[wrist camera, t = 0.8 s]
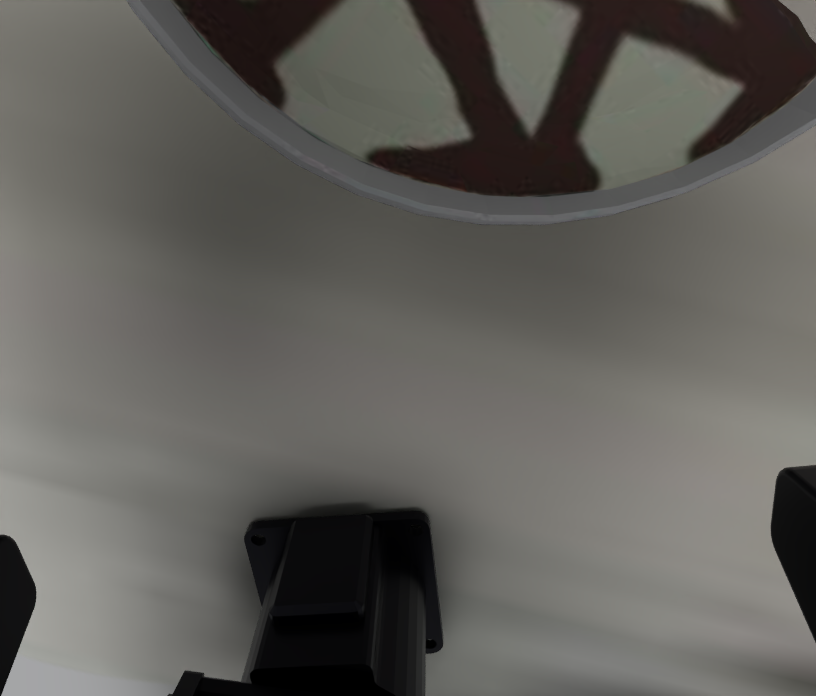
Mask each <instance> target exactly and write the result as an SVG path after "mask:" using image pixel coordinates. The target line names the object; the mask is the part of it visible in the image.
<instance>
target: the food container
mask: <svg viewBox="0 0 816 696" xmlns="http://www.w3.org/2000/svg"><path fill="white" fill-rule="evenodd" d="M127 2H128V4H129V5H130V7H131V8H132V10H133V11H134V13H135V14H136V15H137V16H138V17H139V19H140V20H141V21H142V22H143V24H144V25H145V26H146V27H147V28H148V30H149V31H150V32H151V33H152V35H153V36H154V37H155V38H156V39H157V41H158V42H159V43H160V44H161V46H162V47H163V48H164V49H165V50H166V52H167V53H168V54H169V55H170V57H171V58H172V59H173V60H174V61H175V63H176V64H177V65H178V66H179V67H180V69H181V70H182V71H183V72H184V74H186V75H187V76H188V77H189V78H190V79H191V80H192V81H193V82H194V83H195V84H196V85H197V86H198V87H199V88H201V89H202V90H203V91H204V92H205V93H206V94H207V95H208V96H209V97H210V98H211V99H212V100H213V101H214V102H216V103H217V104H218V105H219V106H220V107H221V108H222V109H223V110H224V111H225V112H226V113H227V114H228V115H229V116H231V117H232V118H233V119H234V120H235V121H236V122H237V123H238V124H239V125H240V126H242V127H243V128H245V129H246V130H248V131H249V132H251V133H252V134H253V135H255V136H256V137H258V138H259V139H261V140H262V141H263V142H265V143H266V144H268V145H269V146H271V147H272V148H273V149H275V150H276V151H278V152H279V153H281V154H282V155H283V156H285V157H286V158H288V159H289V160H291V161H292V162H293V163H295V164H296V165H298V166H300V167H302V168H304V169H306V170H308V171H310V172H312V173H314V174H316V175H318V176H320V177H322V178H324V179H326V180H328V181H330V182H332V183H334V184H336V185H338V186H340V187H342V188H344V189H346V190H348V191H350V192H352V193H354V194H356V195H359V196H362V197H365V198H368V199H371V200H375V201H378V202H381V203H384V204H387V205H390V206H393V207H396V208H399V209H402V210H405V211H408V212H412V213H415V214H418V215H424V216H430V217H437V218H443V219H449V220H455V221H461V222H467V223H474V224H480V225H548V224H555V223H562V222H569V221H576V220H583V219H590V218H597V217H605V216H610V215H613V214H617V213H620V212H624V211H627V210H630V209H634V208H637V207H641V206H644V205H648V204H651V203H655V202H658V201H662V200H665V199H669V198H672V197H675V196H677V195H680V194H683V193H687V192H689V191H691V190H694V189H696V188H698V187H700V186H702V185H705V184H707V183H709V182H711V181H714V180H716V179H718V178H720V177H723V176H725V175H727V174H729V173H732V172H734V171H736V170H738V169H741V168H743V167H745V166H747V165H750V164H752V163H754V162H756V161H758V160H759V159H761V158H762V157H764V156H766V155H767V154H769V153H771V152H772V151H774V150H776V149H777V148H779V147H781V146H782V145H784V144H786V143H787V142H789V141H791V140H792V139H794V138H796V137H797V136H799V135H800V134H802V133H804V132H805V131H807V130H809V129H810V128H812V127H814V126H815V125H816V43H815V42H814V41H813V40H812V39H811V38H810V37H809V35H808V33H807V32H806V30H805V28H804V27H803V25H802V23H801V21H800V20H799V18H798V16H796V15H795V14H794V13H793V12H792V11H790V10H789V9H788V8H787V7H786V6H784V5H783V4H782V3H781V2H780V1H778V0H127Z"/></svg>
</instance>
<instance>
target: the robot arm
mask: <svg viewBox="0 0 816 696" xmlns="http://www.w3.org/2000/svg"><path fill="white" fill-rule="evenodd" d="M414 524H417V525H420V526H421V527H419V528H412V527H411V525H414ZM256 534H259V535H262V536H264V538H259V537H257V536H255V535H256ZM771 537H772V542H773V546H774V548H775V551H776V553H777V556H778V558H779V560H780V562H781V565H782V567H783V569H784V572H785V574H786V576H787V578H788V581H789V583H790V585H791V588H792V590H793V592H794V594H795V597H796V599H797V601H798V604H799V606H800V608H801V610H802V613H803V615H804V617H805V620H806V622H807V624H808V626H809V629H810V631H811V633H812V636H813V638H814V640H815V642H816V465H811V466H799V467H788V468H784V469H783V470H781V471H780V472H779V474H778V476H777V479H776V485H775V494H774V502H773V511H772V519H771ZM244 541H245V545H246V549H247V552H248V556H249V560H250V564H251V567H252V571H253V575H254V579H255V582H256V586H257V590H258V594H259V597H260V601H261V605H262V609H261V613H260V616H259V620H258V623H257V627H256V630H255V634H254V637H253V641H252V644H251V648H250V652H249V655H248V659H247V662H246V666H245V669H244V673H243V676H242V680H241V682H239V681H231V680H224V679H217V678H210V677H204V673H200V672H192V671H184V673H183V675H182V677H181V679H180V681H179V683H178V685H177V687H176V689H175V691H174V693H173V694H169V695H168V696H425V654H429V653H436V652H438V651H439V650H441V648H442V647H443V631H442V622H441V614H440V605H439V596H438V587H437V579H436V570H435V561H434V552H433V544H432V535H431V526H430V520H429V518H428V516H427V515H426V514H424V513H422V512H419V511H407V512H392V513H376V514H361V515H345V516H330V517H315V518H299V519H284V520H268V521H257V522H253V523H251V524H250V525H249V526H248V528H247V531H246V533H245V536H244ZM35 602H36V587H35V583H34V581H33V579H32V576H31V574H30V572H29V570H28V568H27V565H26V563H25V561H24V559H23V557H22V554H21V552H20V550H19V548H18V546H17V544H16V542H15V541H14V540H13V539H12V538H11V537H10V536H7V535H0V696H1V694H2V692H3V689H4V686H5V684H6V681H7V678H8V676H9V673H10V670H11V668H12V665H13V663H14V660H15V657H16V655H17V652H18V649H19V647H20V644H21V641H22V639H23V636H24V634H25V631H26V628H27V626H28V623H29V620H30V618H31V615H32V612H33V610H34V607H35ZM428 639H432V640H428Z"/></svg>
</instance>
